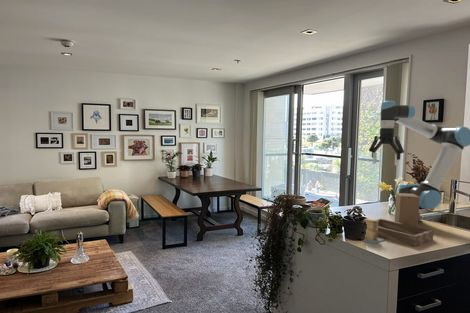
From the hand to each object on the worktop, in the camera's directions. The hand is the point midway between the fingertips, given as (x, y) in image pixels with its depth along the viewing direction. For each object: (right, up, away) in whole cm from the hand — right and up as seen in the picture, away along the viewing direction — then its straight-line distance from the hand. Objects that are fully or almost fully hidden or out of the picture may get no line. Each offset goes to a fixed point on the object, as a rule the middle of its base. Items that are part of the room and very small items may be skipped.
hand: (385, 164), depth 198 cm
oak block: (-18, -38, -24) cm, 48 cm away
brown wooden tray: (-2, -38, -17) cm, 41 cm away
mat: (-18, -38, -24) cm, 49 cm away
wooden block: (+11, -37, -3) cm, 39 cm away
